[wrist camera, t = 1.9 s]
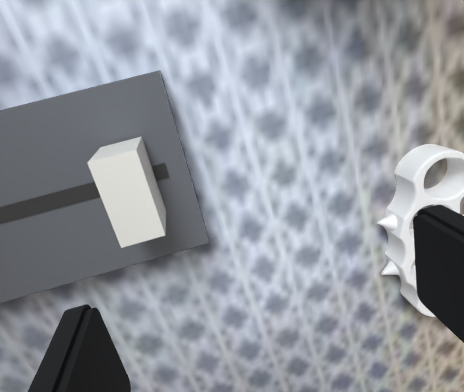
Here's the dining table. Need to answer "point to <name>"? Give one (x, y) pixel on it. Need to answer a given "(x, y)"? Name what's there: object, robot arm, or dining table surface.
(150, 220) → the fader
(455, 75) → the dining table surface
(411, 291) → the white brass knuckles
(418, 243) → the robot arm
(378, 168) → the dining table surface
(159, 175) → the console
